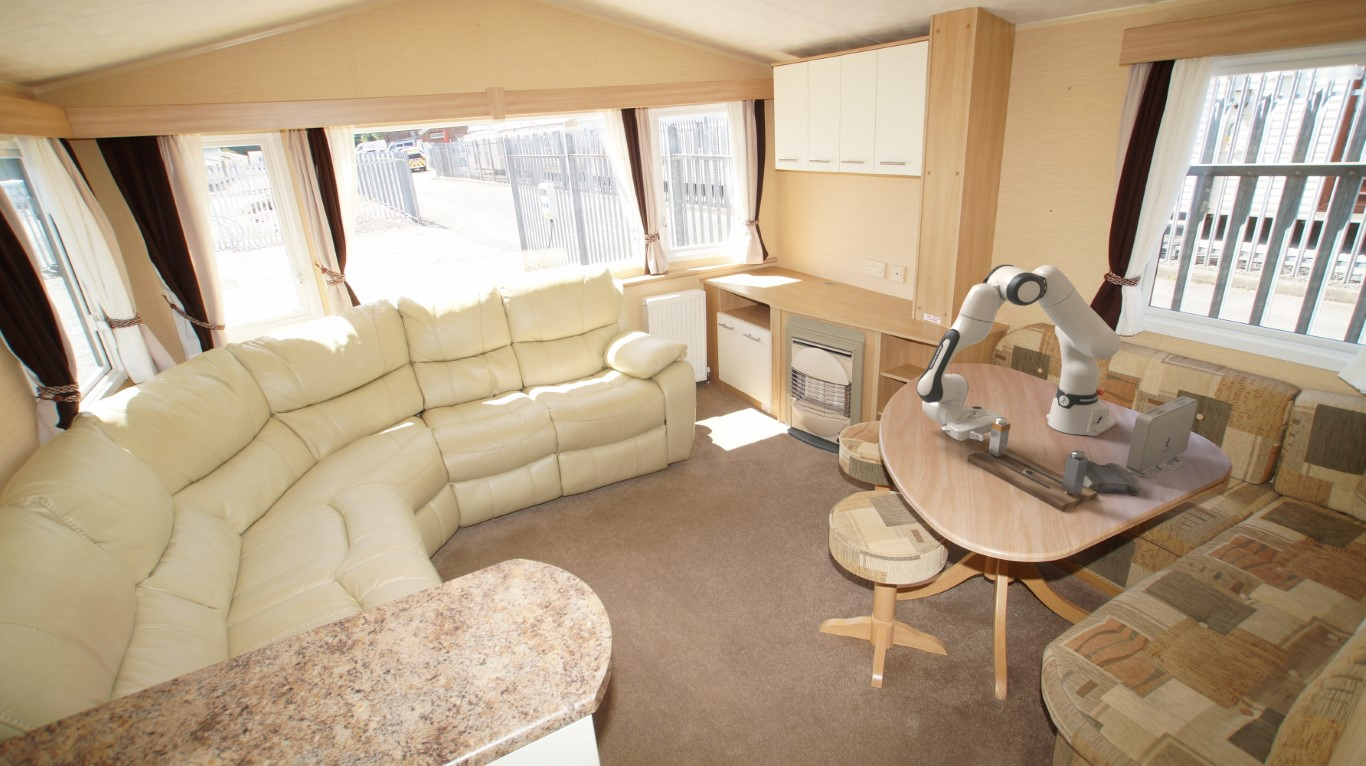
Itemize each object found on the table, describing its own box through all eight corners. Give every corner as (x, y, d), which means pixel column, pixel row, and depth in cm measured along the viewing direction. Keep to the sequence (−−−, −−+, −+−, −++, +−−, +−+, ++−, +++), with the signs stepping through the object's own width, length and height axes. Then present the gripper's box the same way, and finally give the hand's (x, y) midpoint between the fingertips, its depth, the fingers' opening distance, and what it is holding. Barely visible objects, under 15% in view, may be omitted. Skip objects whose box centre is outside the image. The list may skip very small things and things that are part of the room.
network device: (1145, 483, 188) (1159, 422, 180) (1114, 471, 195) (1127, 412, 188) (1192, 459, 198) (1207, 401, 191) (1162, 448, 205) (1175, 392, 198)
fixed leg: (1069, 489, 184) (1076, 448, 179) (1081, 494, 180) (1088, 453, 176) (1060, 492, 182) (1067, 451, 178) (1072, 498, 179) (1079, 456, 174)
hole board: (999, 450, 211) (1000, 443, 210) (1096, 498, 182) (1098, 490, 181) (967, 460, 207) (968, 453, 206) (1061, 511, 177) (1063, 503, 176)
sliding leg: (996, 451, 206) (1001, 415, 201) (1006, 456, 203) (1011, 419, 198) (987, 454, 205) (992, 418, 200) (997, 459, 202) (1002, 422, 197)
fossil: (1143, 498, 181) (1146, 487, 180) (1081, 493, 185) (1083, 482, 184) (1124, 471, 195) (1127, 461, 193) (1067, 468, 199) (1069, 457, 198)
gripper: (938, 418, 210) (971, 433, 198) (985, 404, 217) (1019, 419, 205) (937, 435, 213) (969, 451, 201) (983, 421, 219) (1017, 436, 207)
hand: (995, 435), depth 203 cm, fingers open, 8 cm apart
